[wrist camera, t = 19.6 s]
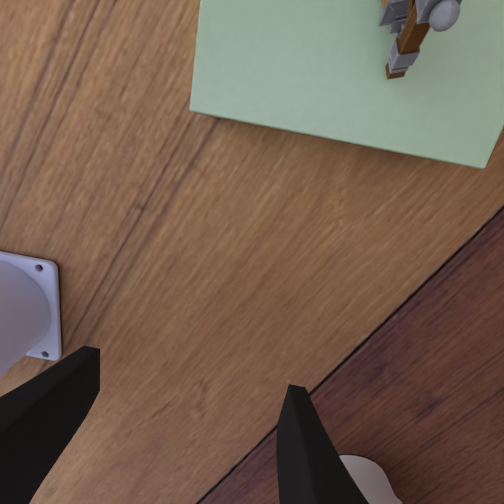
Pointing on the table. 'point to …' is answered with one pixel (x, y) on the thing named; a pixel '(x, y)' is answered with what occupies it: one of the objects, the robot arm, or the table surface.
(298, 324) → the table surface
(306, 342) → the table surface
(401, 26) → the wooden post with brackets
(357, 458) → the cup
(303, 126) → the block
